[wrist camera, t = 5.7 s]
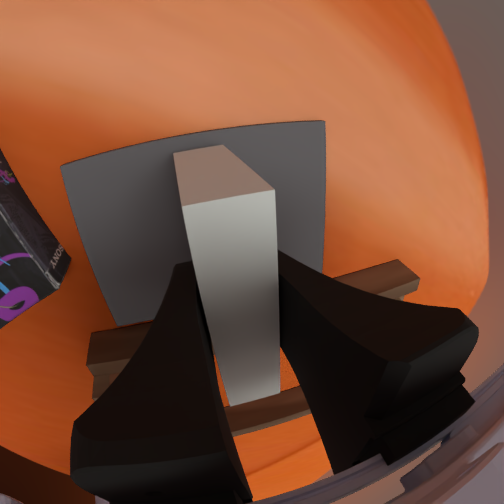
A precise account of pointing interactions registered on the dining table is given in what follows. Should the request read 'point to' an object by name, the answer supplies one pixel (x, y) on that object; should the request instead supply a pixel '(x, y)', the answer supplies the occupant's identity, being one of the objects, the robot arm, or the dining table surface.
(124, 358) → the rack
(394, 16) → the dining table surface
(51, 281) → the box
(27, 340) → the dining table surface
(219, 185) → the light grey block
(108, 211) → the mat
